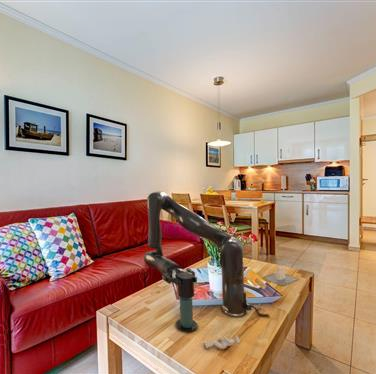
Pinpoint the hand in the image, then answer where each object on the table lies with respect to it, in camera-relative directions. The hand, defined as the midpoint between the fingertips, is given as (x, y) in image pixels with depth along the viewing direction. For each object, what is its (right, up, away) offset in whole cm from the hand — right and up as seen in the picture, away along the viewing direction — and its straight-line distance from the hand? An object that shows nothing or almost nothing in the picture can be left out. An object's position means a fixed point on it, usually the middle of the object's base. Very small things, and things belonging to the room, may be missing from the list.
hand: (188, 282), depth 95 cm
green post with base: (0, -19, +3) cm, 20 cm away
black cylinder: (-1, -6, +2) cm, 6 cm away
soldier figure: (+10, -20, -11) cm, 24 cm away
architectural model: (+64, -16, +44) cm, 79 cm away
